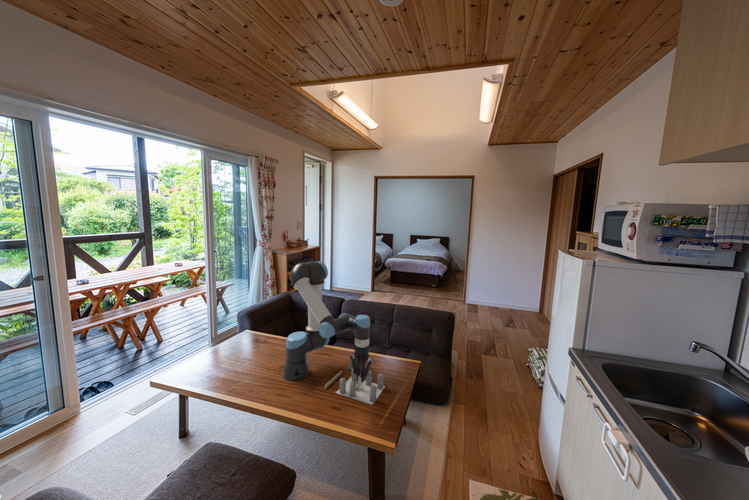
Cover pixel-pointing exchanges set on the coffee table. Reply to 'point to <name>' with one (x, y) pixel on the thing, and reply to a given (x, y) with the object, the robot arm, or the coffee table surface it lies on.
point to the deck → (364, 394)
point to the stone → (352, 366)
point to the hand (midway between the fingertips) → (360, 387)
